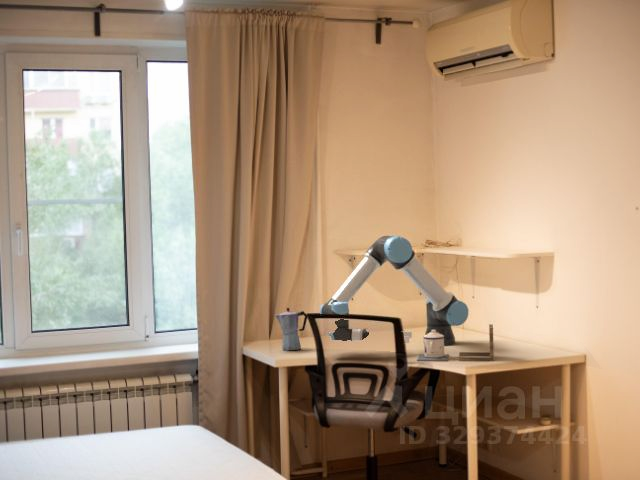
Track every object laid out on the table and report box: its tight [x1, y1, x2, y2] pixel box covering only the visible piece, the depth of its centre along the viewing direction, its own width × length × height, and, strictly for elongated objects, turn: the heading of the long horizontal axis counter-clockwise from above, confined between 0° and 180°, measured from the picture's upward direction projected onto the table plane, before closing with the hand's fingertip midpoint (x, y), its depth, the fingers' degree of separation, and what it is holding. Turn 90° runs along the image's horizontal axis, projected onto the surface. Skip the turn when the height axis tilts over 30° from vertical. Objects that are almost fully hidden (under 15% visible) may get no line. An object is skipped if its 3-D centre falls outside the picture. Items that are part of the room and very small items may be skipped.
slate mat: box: [416, 353, 449, 362], centre depth 375 cm, size 14×13×1 cm
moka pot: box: [274, 307, 308, 352], centre depth 409 cm, size 10×15×20 cm, turn 95°
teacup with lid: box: [423, 330, 445, 358], centre depth 375 cm, size 12×9×12 cm
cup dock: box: [458, 323, 495, 362], centre depth 372 cm, size 13×15×14 cm
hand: (410, 337), depth 377 cm, fingers open, 13 cm apart
